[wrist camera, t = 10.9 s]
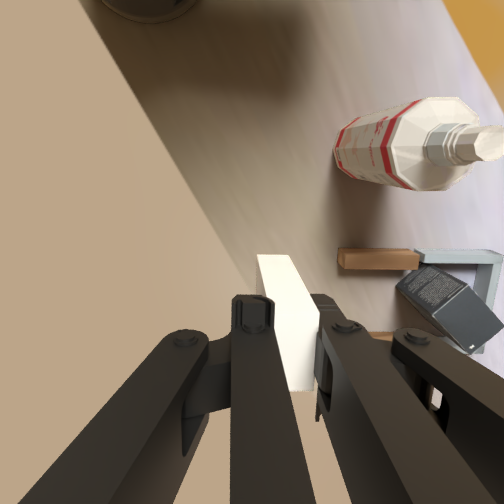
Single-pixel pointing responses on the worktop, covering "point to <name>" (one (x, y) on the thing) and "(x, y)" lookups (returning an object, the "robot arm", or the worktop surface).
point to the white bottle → (417, 144)
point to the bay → (485, 274)
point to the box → (450, 306)
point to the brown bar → (378, 266)
